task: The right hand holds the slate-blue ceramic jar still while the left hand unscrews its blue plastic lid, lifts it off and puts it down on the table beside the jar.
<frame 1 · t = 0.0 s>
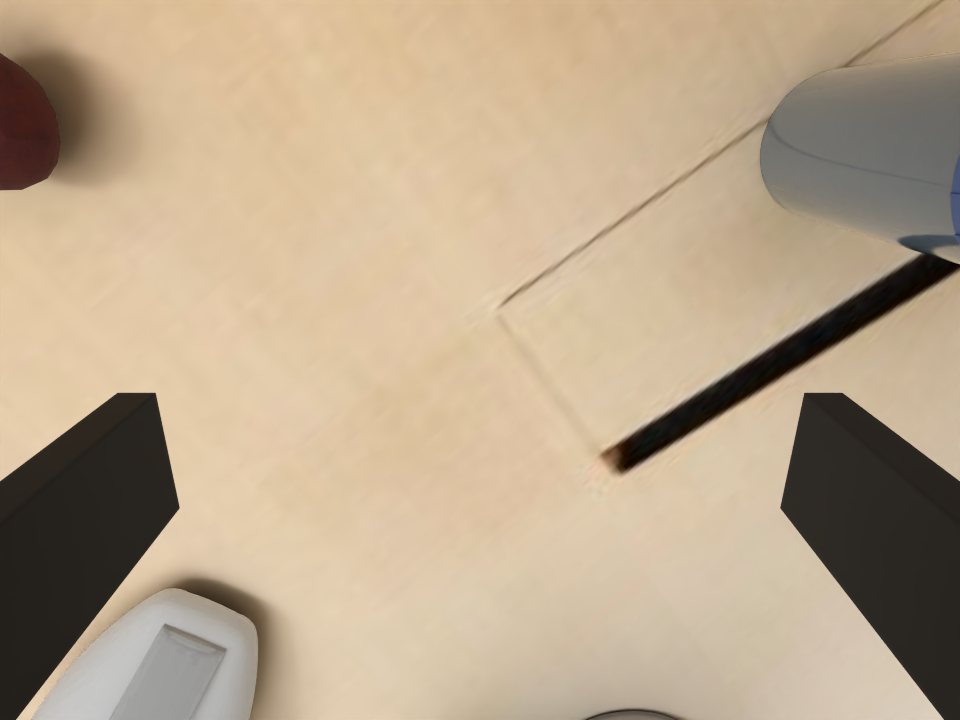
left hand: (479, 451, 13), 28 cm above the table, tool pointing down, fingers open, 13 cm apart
jar: (831, 146, 37), on the table
dark red round piece: (25, 120, 37), on the table
projector: (167, 679, 53), on the table
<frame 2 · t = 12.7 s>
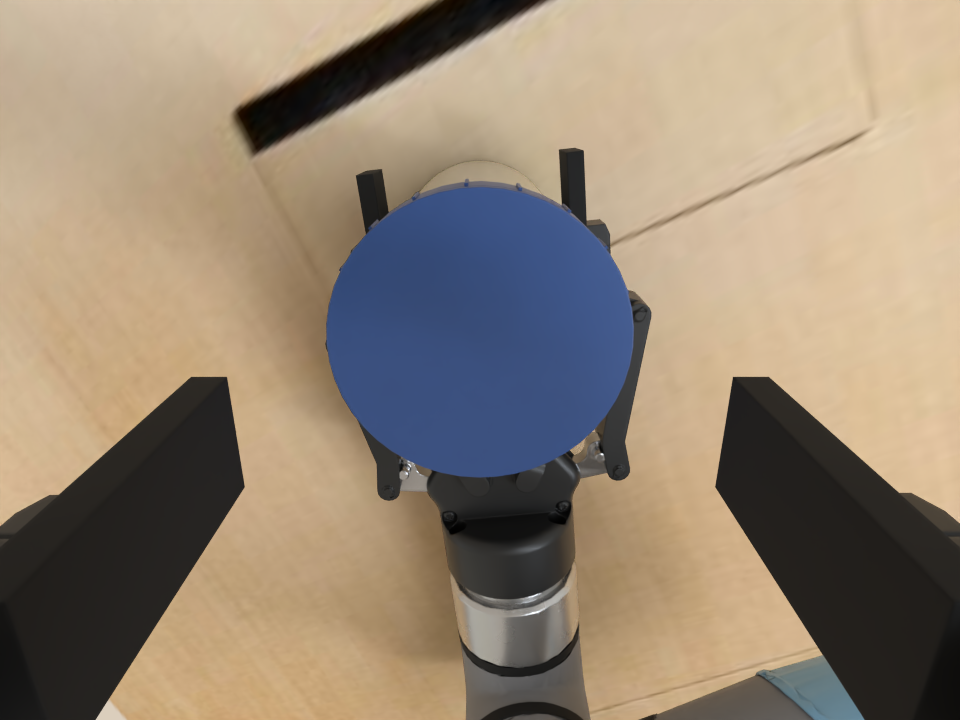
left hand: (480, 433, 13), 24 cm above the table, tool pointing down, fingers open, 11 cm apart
lid: (480, 341, 19), point 18 cm above the table, screwed on, not yet turned
jar: (480, 237, 36), on the table, touching right hand
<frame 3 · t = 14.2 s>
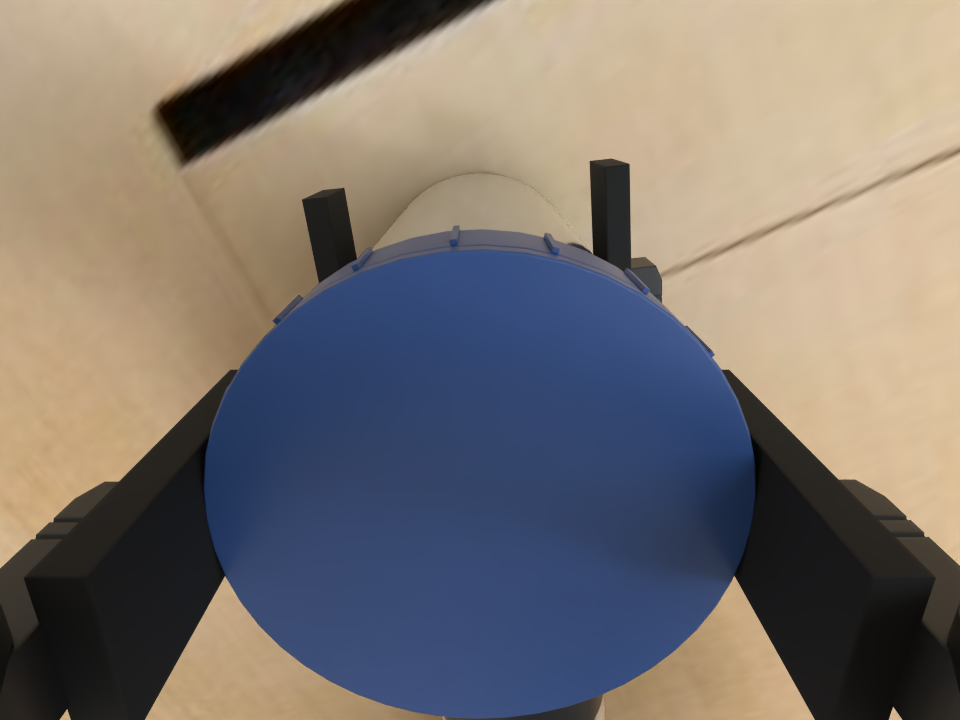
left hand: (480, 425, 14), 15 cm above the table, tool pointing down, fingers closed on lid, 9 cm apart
lid: (479, 510, 11), point 18 cm above the table, screwed on, not yet turned, touching left hand
jar: (480, 271, 28), on the table, touching right hand
when the left hand's fingers open (15 cm above the table, at t = 16.0 s): lid stays where it is, point 19 cm above the table.
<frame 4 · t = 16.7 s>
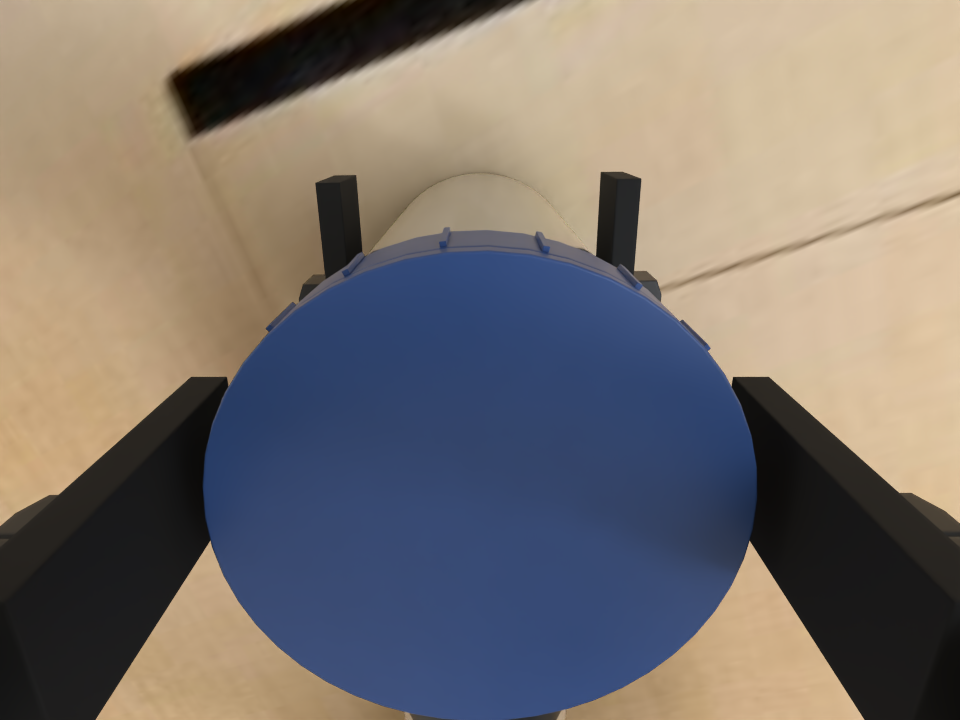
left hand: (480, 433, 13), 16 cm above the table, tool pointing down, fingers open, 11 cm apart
lid: (480, 512, 11), point 19 cm above the table, turned 102° so far, risen 0.3 cm, still on its thread
jar: (480, 270, 28), on the table, touching right hand
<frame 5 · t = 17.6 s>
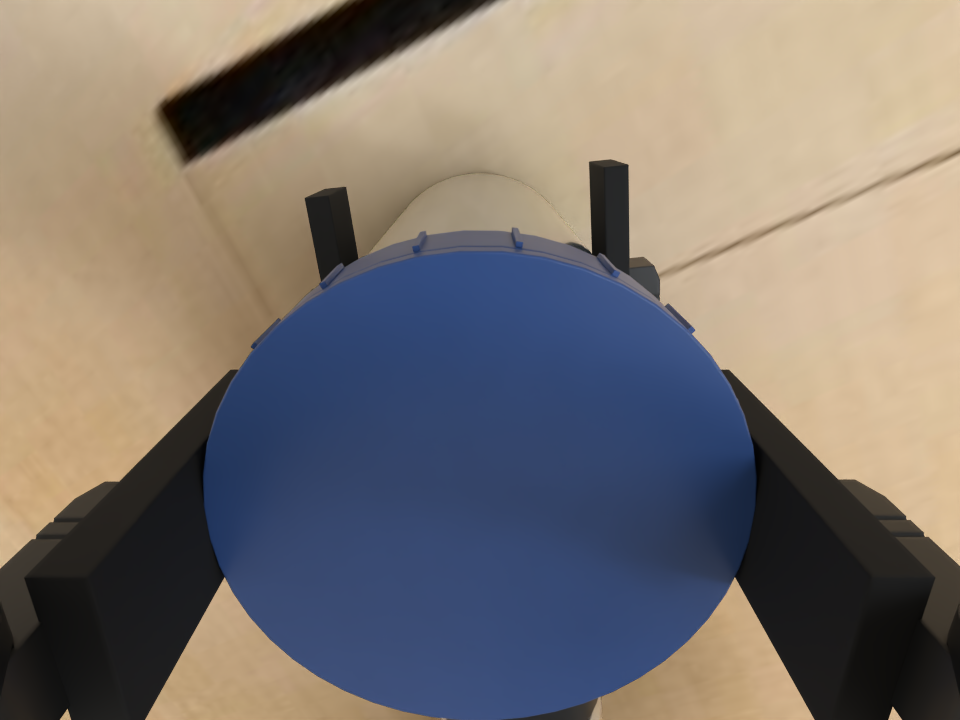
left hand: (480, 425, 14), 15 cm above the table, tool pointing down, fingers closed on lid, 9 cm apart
lid: (479, 511, 11), point 19 cm above the table, turned 102° so far, risen 0.3 cm, still on its thread, touching left hand
jar: (479, 270, 28), on the table, touching right hand
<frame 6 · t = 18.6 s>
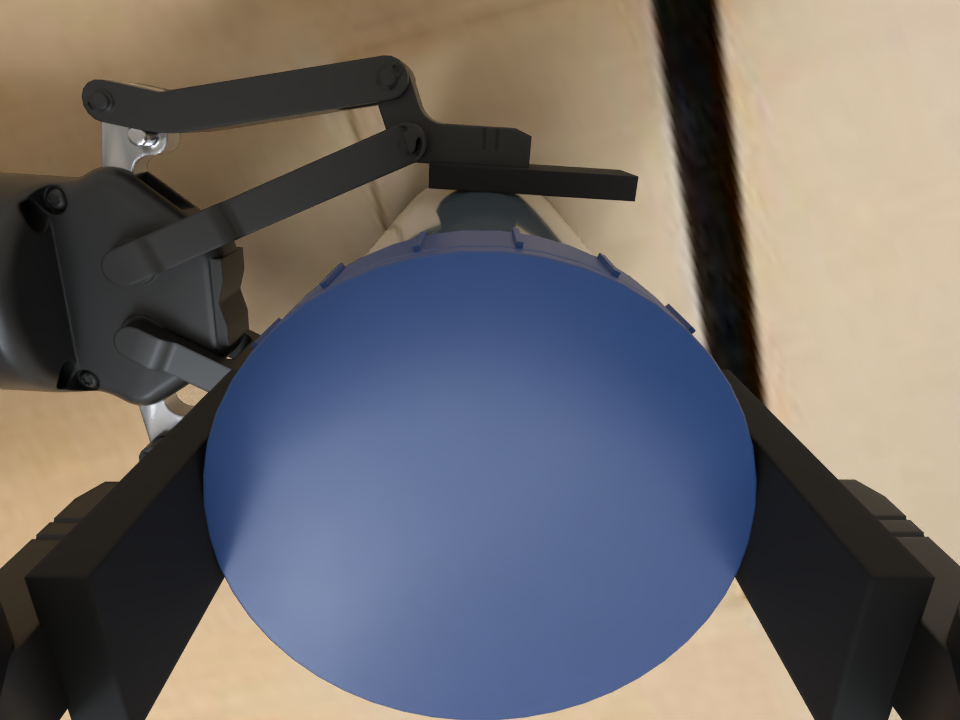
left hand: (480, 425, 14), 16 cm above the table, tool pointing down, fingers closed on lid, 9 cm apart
right hand: (607, 317, 22), fingers closed on jar, 9 cm apart
lid: (479, 511, 11), point 19 cm above the table, off its thread, touching left hand
jar: (479, 268, 28), on the table, touching right hand
when the left hand's fingers open (0 cm above the table, at t = 23.9 s): lid drops 2 cm, point 2 cm above the table.
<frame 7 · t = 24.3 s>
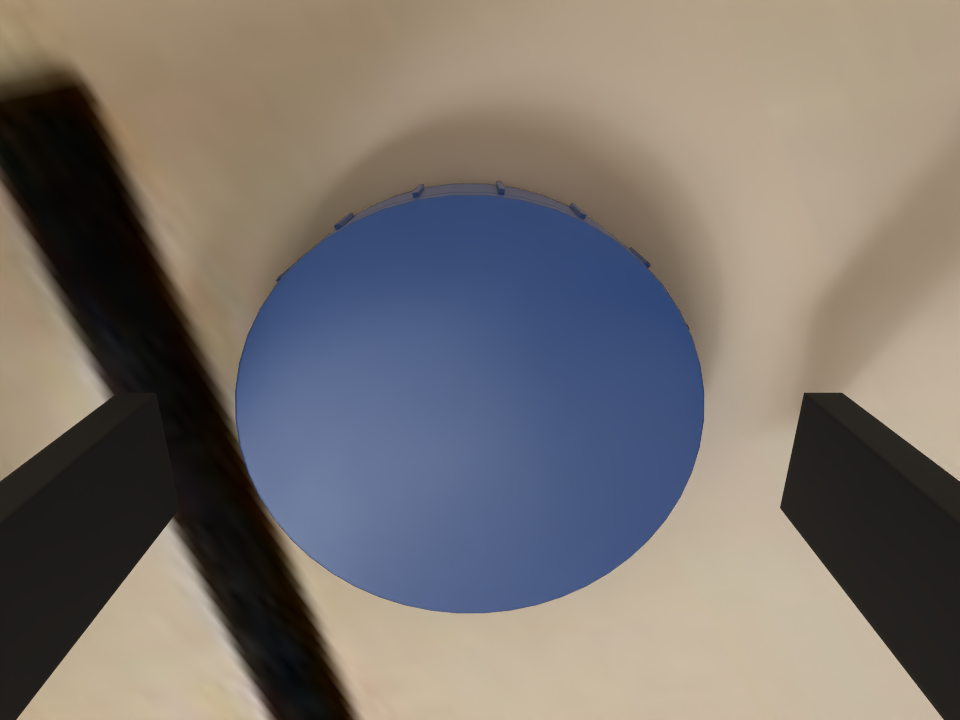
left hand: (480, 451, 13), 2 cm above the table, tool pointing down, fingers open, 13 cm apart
lid: (470, 425, 13), point 2 cm above the table, off its thread
when the right hand's fingers open (7 cm above the table, at t = 24.9 s): jar stays where it is, on the table.
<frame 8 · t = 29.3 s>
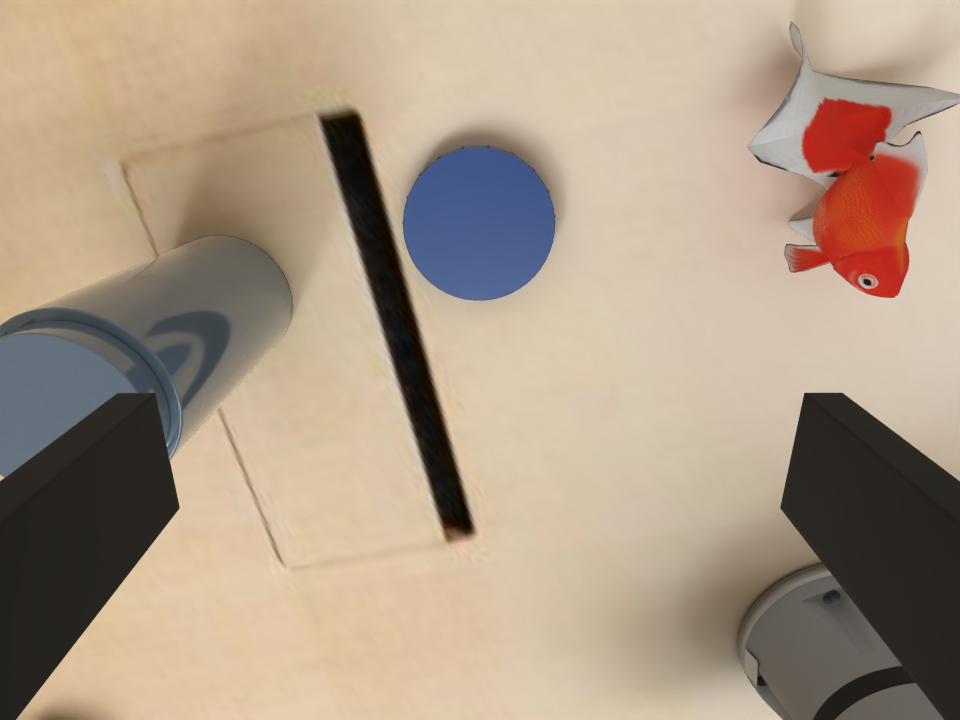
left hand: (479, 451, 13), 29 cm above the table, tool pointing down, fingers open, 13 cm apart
lid: (479, 226, 38), point 2 cm above the table, off its thread
jar: (228, 299, 42), on the table
fish: (802, 158, 38), on the table
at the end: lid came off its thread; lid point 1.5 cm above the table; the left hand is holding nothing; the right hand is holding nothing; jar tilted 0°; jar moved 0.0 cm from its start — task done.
